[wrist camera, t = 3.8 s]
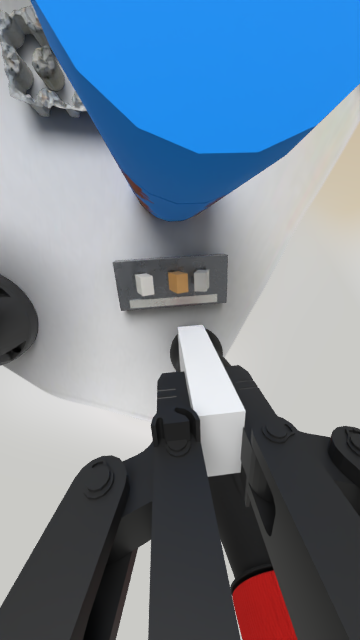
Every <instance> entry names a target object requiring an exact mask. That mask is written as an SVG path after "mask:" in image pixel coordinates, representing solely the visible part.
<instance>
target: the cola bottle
mask: <svg viewBox="0 0 360 640" xmlns="http://www.w3.org/2000/svg"><path fill="white" fill-rule="evenodd" d="M205 330H206V332H207V334H208V336H209V338H210V340H211V342H212V344H213V346H214V348H215V350H216V352H217V354H218V356H219V358H220V360H221V362H222V364H223V366H224V367H226V366H231V365H230V364H229V363H228V362H227V361H226V359H225V358H224V357H223V352H222V346H221V344H220V341H219V340H218V338H217V337H216V336H215V335H214V334H213V333H212V332H211V331H209V330H207V329H205ZM170 358H171V362H172V364H173V366H174V368H175V369H176V372H181V370H180V358H179V342H178V334H177V335H176V337H175V338H174V340H173V342H172V345H171V349H170ZM246 479H247V476H246V473H245V470H244V468H243V465H242V462H241V473H233V474H225V475H218V476H210V477H208V481H209V486H210V491H211V496H212V501H213V505H214V510H215V515H216V520H217V525H218V530H219V535H220V540H221V542H222V544H223V546H224V549H225V552H226V555H227V557H228V560H229V563H230V565H231V568H232V571H233V574H234V577H235V580H234V581H233V583H232V584H231V587H230V590H231V594H232V596H233V603H234V607H235V611H236V615H237V620H238V624H239V628H240V632H241V636H242V639H243V640H297V637H296V634H295V631H294V628H293V625H292V622H291V619H290V616H289V613H288V610H287V607H286V604H285V601H284V598H283V595H282V593H281V590H280V587H279V584H278V581H277V578H276V575H275V572H274V569H273V566H272V563H271V560H270V557H269V554H268V551H267V548H266V546H265V543H264V540H263V537H262V534H261V531H260V528H259V525H258V522H257V519H256V516H255V513H254V510H253V507H252V504H251V501H250V505H249V507H246V505H245V489H246Z"/></svg>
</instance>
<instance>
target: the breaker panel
mask: <svg viewBox="0 0 360 640" xmlns="http://www.w3.org/2000/svg"><path fill="white" fill-rule="evenodd" d="M227 264H228V255H225V254H213V255H198V256H182V257H166V258H150V259H134V260H118V261H115V262H113V266H114V272H115V278H116V284H117V290H118V296H119V302H120V308H121V311H125V310H138V309H151V308H163V307H176V306H189V305H202V304H215V303H226V297H227ZM197 270H209V288H208V290H207V292H200V291H194V273H195V272H196V271H197ZM176 271H180V272H184V273H187V274H188V292H185V293H179V294H177V293H175V292H173V291H171V290H169V279H168V272H176ZM145 273H147V274H149V275H151V276H153V285H154V295H148V296H142V295H140V294H139V293H138V292H137V287H136V279H135V275H137V274H145Z"/></svg>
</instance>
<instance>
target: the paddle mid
mask: <svg viewBox="0 0 360 640" xmlns="http://www.w3.org/2000/svg"><path fill="white" fill-rule="evenodd" d="M168 279H169V290H171V291H173V292H175V293H177V294H179V293H185V292H188V274H187V273H184V272H180V271H176V272H168Z"/></svg>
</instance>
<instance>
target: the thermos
mask: <svg viewBox="0 0 360 640" xmlns="http://www.w3.org/2000/svg"><path fill="white" fill-rule="evenodd" d="M31 3H32V5H33V7H34V10H35V12H36V15H37V17H38V19H39V22H40V24H41V26H42V29H43V31H44V34H45V36H46V38H47V41H48V43H49V45H50V47H51V49H52V51H53V52H54V54H55V56H56V58H57V59H58V61H59V63H60V65H61V66H62V68H63V70H64V72H65V73H66V75H67V77H68V79H69V80H70V82H71V84H72V86H73V87H74V89H75V91H76V93H77V94H78V96H79V98H80V100H81V101H82V103H83V105H84V107H85V108H86V110H87V112H88V114H89V115H90V117H91V119H92V121H93V122H94V124H95V126H96V128H97V129H98V131H99V133H100V135H101V136H102V138H103V140H104V142H105V143H106V145H107V147H108V148H109V150H110V152H111V154H112V155H113V157H114V159H115V161H116V162H117V164H118V166H119V168H120V169H121V171H122V173H123V175H124V176H125V178H126V180H127V182H128V183H129V185H130V187H131V189H132V190H133V192H134V194H135V195H136V197H137V198H138V200H139V202H140V203H141V205H142V206H143V207H144V208H146V209H147V210H148V211H149V212H150V213H152V214H153V215H154V216H155V217H157V218H160V219H163V220H166V221H183V220H186V219H188V218H190V217H193V216H195V215H197V214H199V213H200V212H202V211H203V210H205V209H206V208H208V207H209V206H211V205H212V204H214V203H215V202H217V201H218V200H220V199H221V198H223V197H224V196H226V195H227V194H229V193H230V192H232V191H233V190H235V189H236V188H238V187H239V186H241V185H242V184H244V183H245V182H247V181H248V180H250V179H251V178H253V177H254V176H255V175H257V174H258V173H260V172H261V171H263V170H264V169H266V168H267V167H269V166H270V165H272V164H273V163H275V162H276V161H278V160H279V159H281V158H282V157H284V156H285V155H286V154H287V153H288V152H289V151H291V150H292V149H293V148H294V147H295V146H296V145H297V144H298V143H299V142H300V141H301V140H302V139H303V138H304V137H305V136H306V135H307V134H308V133H309V132H310V131H311V130H312V129H313V128H314V127H315V126H316V125H317V124H318V123H320V122H321V121H322V120H323V119H324V118H325V117H326V116H327V115H328V114H329V113H330V112H331V111H332V110H333V109H334V108H335V107H336V106H337V105H338V104H339V103H340V102H341V101H342V100H343V99H344V98H345V97H346V96H347V95H348V94H349V93H350V92H351V91H352V90H353V89H354V88H356V87H357V86H358V85H359V84H360V0H31Z"/></svg>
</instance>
